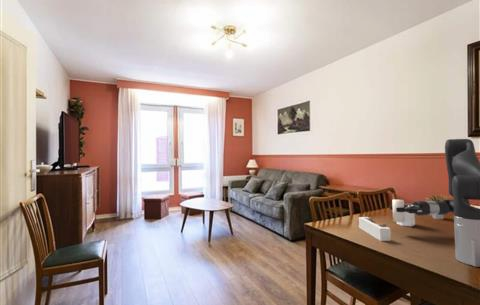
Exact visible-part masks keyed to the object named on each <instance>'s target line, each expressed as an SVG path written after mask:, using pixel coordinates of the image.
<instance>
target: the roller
mask: <svg viewBox="0 0 480 305" xmlns="http://www.w3.org/2000/svg"><path fill="white" fill-rule="evenodd" d="M375 224H376V225H378V226H380V227H388V226H387V224H386V223H375Z"/></svg>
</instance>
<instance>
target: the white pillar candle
mask: <svg viewBox="0 0 480 305" xmlns="http://www.w3.org/2000/svg"><path fill="white" fill-rule="evenodd" d="M391 200H392V202H391V204H392V208H393V210H392V221H393V222H394V223H395V222H396V223H397V222H405V214H404V212H397V211H396V208H400V207H404V203H405V200H404V199H395V198H394V199H391Z"/></svg>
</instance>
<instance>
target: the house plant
mask: <svg viewBox="0 0 480 305" xmlns="http://www.w3.org/2000/svg"><path fill="white" fill-rule="evenodd" d="M429 194H430V193H429ZM430 195H431V196H429V195H427V197H428V198H427V197H425V199H426V201H443V200H448V199H449V198H450V197H451V195H449V196H446V195H445V194H444V195H443V193H441V194H440V195H438V193H437V192H436V196H435V195H434V194H432V193H431V194H430ZM429 198H430V199H429ZM444 217H445V214H444V215H432V218H433V219H435V220H443V219H444Z"/></svg>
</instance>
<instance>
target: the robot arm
mask: <svg viewBox="0 0 480 305" xmlns="http://www.w3.org/2000/svg"><path fill="white" fill-rule="evenodd" d="M444 154H445V165H446V170H447V175H448V176H447V178H448V194H449V196H450V197H452V198H453V199H452V198H451V199H449V198H448V199H446V200H444V199H443V201H441V200H440V201H432V200H431V201H428V200H415V201H413V203H408V204H404V207H400V208H396V211H397V212H406V213H407V212H408V213H414V215H415V216H420V217H421V216H422V217H424V216H427V217H428V216H433V215H444V216H445V215H448V214H449V213H452V214H453V223H454V224H453V225H454V226H453V227H454V228H453V230H454V247H455V248H454V250H455V251H454V252H455V254H454V255H455V260H456V261H458V262H459V263H460V262H461V263H462V264H466V265H469V266H473V267H474V268H475V267H476V268H477V267H478V268H479V267H480V208H479V207H475V206H472V205H471V204H470V200H472V201H473V200H474V201H480V160H479V158H478V156H477V152H476V150H475V144H474V142H473V140H471V139H470V138H455V139H446V140H445V144H444ZM411 204H412V205H411ZM389 210H390V211H393V208H392V205H391V204H390V205H389Z"/></svg>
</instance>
